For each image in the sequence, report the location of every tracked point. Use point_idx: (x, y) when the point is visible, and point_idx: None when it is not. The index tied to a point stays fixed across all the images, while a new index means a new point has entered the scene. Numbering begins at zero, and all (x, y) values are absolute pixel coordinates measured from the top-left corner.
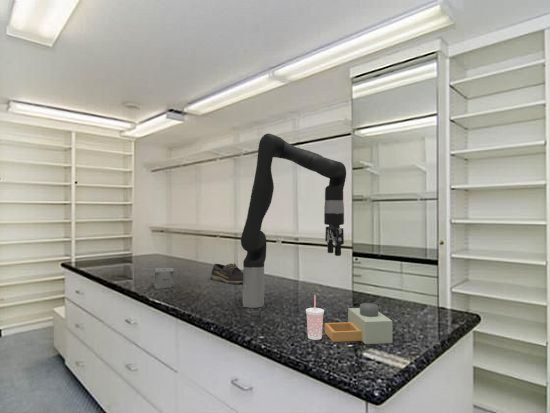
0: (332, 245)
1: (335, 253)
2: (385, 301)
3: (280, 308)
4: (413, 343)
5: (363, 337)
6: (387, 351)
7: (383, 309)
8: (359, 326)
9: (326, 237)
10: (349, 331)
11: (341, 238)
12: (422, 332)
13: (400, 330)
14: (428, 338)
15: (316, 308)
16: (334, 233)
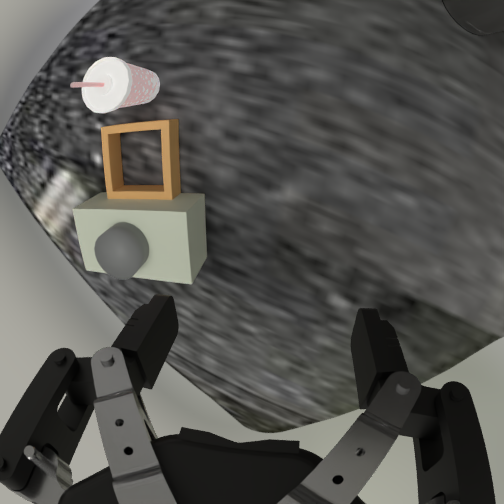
0: (361, 389)
1: (149, 302)
2: None
3: (436, 62)
4: (113, 282)
5: (104, 195)
6: None
7: (342, 344)
8: (114, 201)
9: (447, 425)
10: (106, 169)
11: (73, 425)
12: None
13: (180, 301)
14: None
15: (123, 91)
16: (100, 473)
